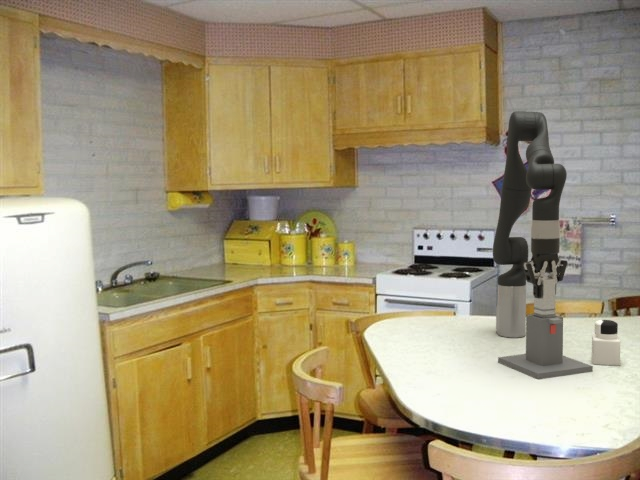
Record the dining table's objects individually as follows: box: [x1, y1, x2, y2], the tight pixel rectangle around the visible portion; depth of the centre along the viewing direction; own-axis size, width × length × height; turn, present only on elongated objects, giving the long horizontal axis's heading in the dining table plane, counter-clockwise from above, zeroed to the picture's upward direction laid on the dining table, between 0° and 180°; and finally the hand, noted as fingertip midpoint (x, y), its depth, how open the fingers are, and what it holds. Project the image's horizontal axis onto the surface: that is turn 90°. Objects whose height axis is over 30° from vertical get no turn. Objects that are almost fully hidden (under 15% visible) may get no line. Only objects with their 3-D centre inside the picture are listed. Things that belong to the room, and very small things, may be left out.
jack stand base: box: [497, 313, 593, 380], centre depth 191 cm, size 18×18×14 cm
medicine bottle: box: [591, 319, 621, 367], centre depth 195 cm, size 7×7×12 cm
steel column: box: [533, 276, 557, 319], centre depth 190 cm, size 4×4×18 cm
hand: (544, 297), depth 190 cm, fingers closed on steel column, 4 cm apart
